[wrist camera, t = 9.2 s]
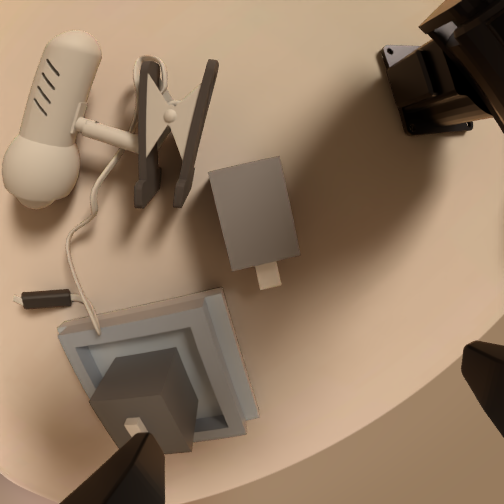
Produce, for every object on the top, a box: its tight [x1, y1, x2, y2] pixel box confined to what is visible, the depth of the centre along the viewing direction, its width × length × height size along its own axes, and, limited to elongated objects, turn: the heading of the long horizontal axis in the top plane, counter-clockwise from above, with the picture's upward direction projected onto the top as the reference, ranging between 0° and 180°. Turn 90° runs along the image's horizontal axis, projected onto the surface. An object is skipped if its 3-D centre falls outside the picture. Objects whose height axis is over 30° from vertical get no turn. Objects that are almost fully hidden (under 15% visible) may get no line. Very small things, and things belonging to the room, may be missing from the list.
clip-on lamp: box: [2, 30, 219, 336], centre depth 15 cm, size 12×6×18 cm
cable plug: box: [208, 156, 300, 290], centre depth 17 cm, size 4×7×4 cm, turn 13°
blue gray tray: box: [57, 287, 259, 442], centre depth 19 cm, size 12×10×3 cm
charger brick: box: [89, 347, 199, 454], centre depth 16 cm, size 4×4×6 cm
